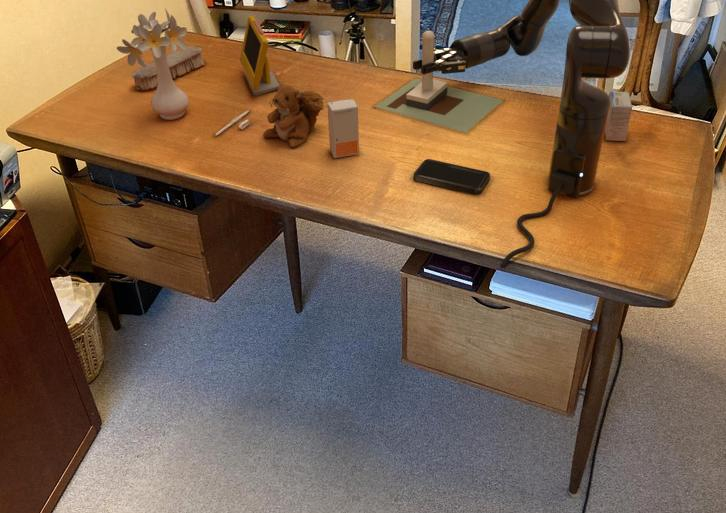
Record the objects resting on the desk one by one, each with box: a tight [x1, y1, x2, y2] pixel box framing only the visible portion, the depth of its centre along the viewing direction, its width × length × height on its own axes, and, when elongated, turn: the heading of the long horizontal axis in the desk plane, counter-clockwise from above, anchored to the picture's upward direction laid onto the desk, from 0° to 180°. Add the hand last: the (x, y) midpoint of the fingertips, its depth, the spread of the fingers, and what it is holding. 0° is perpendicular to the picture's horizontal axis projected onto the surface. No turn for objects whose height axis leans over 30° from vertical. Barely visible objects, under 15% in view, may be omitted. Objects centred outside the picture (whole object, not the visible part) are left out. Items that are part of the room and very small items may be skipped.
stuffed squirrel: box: [262, 81, 326, 149], centre depth 164 cm, size 10×14×13 cm
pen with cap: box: [214, 109, 251, 137], centre depth 172 cm, size 14×4×2 cm, turn 153°
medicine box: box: [604, 91, 633, 142], centre depth 160 cm, size 8×4×9 cm, turn 169°
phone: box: [413, 158, 491, 195], centre depth 150 cm, size 8×1×15 cm
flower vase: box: [116, 8, 190, 121], centre depth 170 cm, size 13×18×25 cm
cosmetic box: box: [326, 98, 360, 159], centre depth 157 cm, size 6×4×12 cm
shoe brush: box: [131, 45, 205, 91], centre depth 196 cm, size 24×8×5 cm, turn 146°
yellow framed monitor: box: [239, 14, 280, 97], centre depth 186 cm, size 20×8×16 cm, turn 17°
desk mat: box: [373, 77, 504, 134], centre depth 178 cm, size 20×26×1 cm
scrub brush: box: [406, 30, 449, 110], centre depth 174 cm, size 11×6×18 cm, turn 148°
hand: (418, 68), depth 173 cm, fingers closed on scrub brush, 3 cm apart
